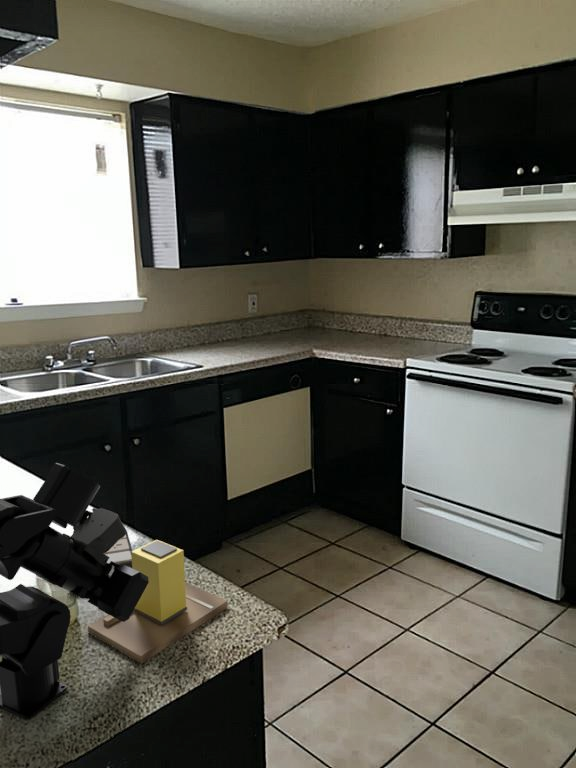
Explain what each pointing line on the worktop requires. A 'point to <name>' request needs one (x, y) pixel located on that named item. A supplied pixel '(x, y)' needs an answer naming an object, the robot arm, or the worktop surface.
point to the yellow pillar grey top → (161, 581)
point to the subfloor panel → (157, 626)
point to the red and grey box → (121, 552)
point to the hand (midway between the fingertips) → (126, 596)
